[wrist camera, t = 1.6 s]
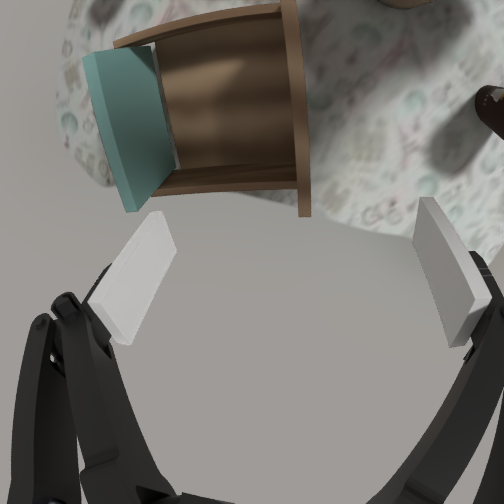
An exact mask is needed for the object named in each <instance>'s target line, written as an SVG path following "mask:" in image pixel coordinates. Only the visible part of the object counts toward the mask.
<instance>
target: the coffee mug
mask: <svg viewBox="0 0 504 504" xmlns="http://www.w3.org/2000/svg"><path fill="white" fill-rule="evenodd" d="M475 108H476V112H477V115H478V117H479V118H480V120H481V121H482V122H483V123H485V124H486V125H487V126H488V127H489V128H490V129H492V130H493V131H494V132H495V133H496V134H497V135H498V136H499V137H501V138H502V139H503V140H504V88H503V87H497V86H490V85H486V86H483V87H482V88H481V89H480V90H479V91H478V93H477V95H476V98H475Z"/></svg>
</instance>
